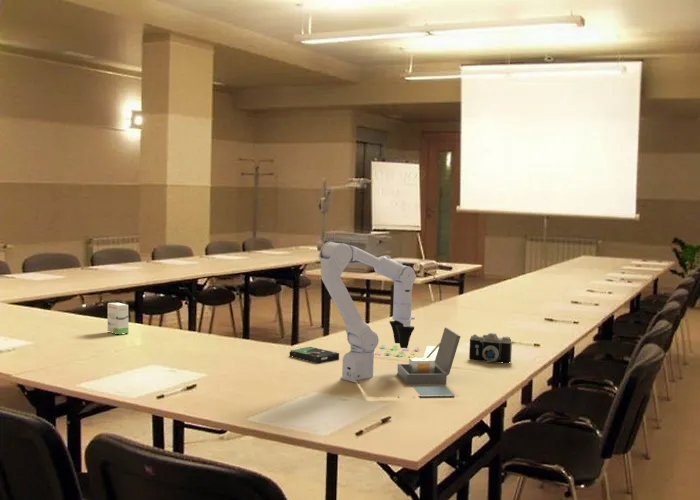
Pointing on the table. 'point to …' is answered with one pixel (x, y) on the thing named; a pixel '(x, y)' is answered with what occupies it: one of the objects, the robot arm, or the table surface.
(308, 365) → the table surface
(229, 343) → the table surface
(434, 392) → the mat
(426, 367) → the module
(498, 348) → the camera
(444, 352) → the case
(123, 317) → the ink box
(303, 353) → the disk drive
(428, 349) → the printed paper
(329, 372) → the table surface
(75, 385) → the table surface
